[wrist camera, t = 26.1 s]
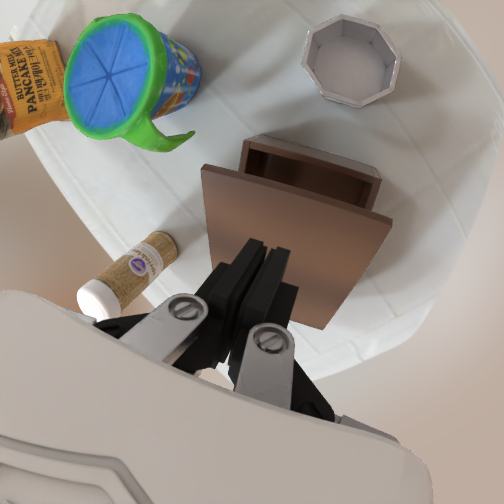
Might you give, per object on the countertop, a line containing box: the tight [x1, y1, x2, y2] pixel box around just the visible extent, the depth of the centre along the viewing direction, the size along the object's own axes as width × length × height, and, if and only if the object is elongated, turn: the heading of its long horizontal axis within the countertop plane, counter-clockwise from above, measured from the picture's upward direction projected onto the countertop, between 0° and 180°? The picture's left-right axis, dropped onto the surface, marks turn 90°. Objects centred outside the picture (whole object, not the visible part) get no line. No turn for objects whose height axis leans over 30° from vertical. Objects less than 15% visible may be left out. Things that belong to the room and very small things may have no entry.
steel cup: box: [301, 14, 402, 108], centre depth 19 cm, size 7×7×6 cm
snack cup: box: [63, 13, 201, 152], centre depth 21 cm, size 16×10×10 cm
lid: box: [201, 164, 393, 330], centre depth 22 cm, size 16×11×1 cm
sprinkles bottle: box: [77, 231, 177, 322], centre depth 30 cm, size 5×5×13 cm
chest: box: [238, 135, 382, 211], centre depth 27 cm, size 15×11×5 cm
